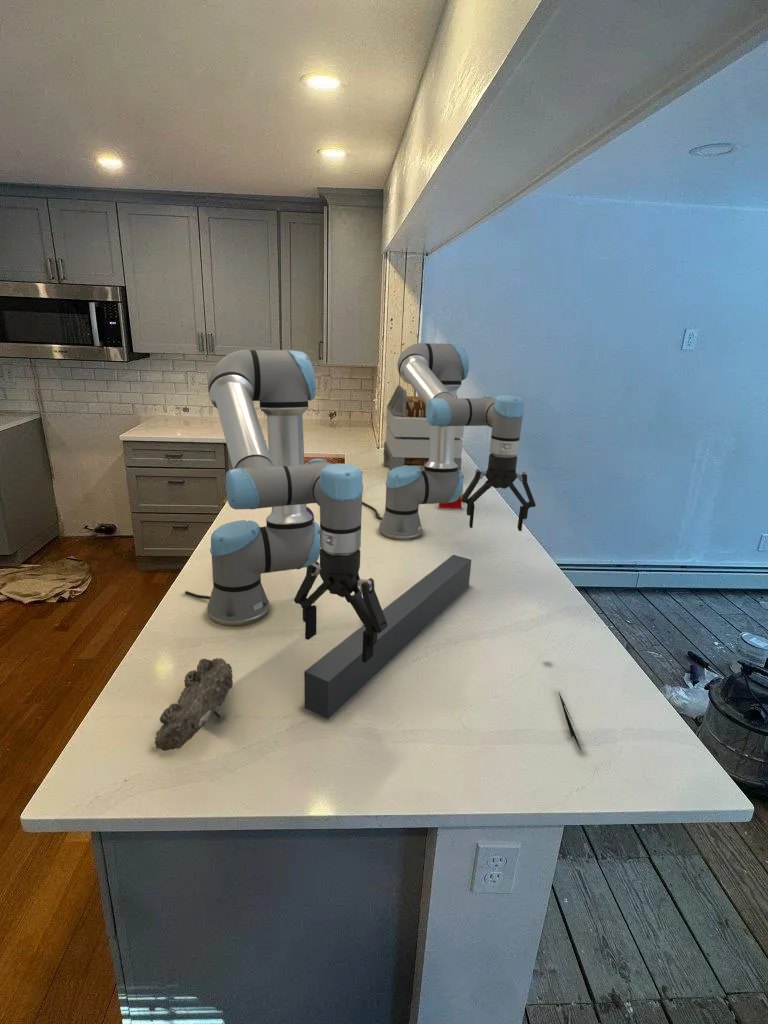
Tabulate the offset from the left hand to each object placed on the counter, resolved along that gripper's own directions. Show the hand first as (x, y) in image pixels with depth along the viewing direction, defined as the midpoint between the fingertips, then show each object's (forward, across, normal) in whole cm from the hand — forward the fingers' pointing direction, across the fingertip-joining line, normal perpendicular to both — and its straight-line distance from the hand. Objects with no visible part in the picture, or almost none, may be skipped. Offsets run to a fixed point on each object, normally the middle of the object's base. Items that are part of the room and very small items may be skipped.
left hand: (338, 647), depth 112 cm
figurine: (+11, -63, +68) cm, 93 cm away
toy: (+11, -37, +132) cm, 137 cm away
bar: (+11, 0, +27) cm, 29 cm away
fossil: (+12, -18, -19) cm, 29 cm away
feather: (+12, +40, +23) cm, 47 cm away
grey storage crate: (+11, -63, +159) cm, 172 cm away
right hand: (-6, +8, +66) cm, 67 cm away
